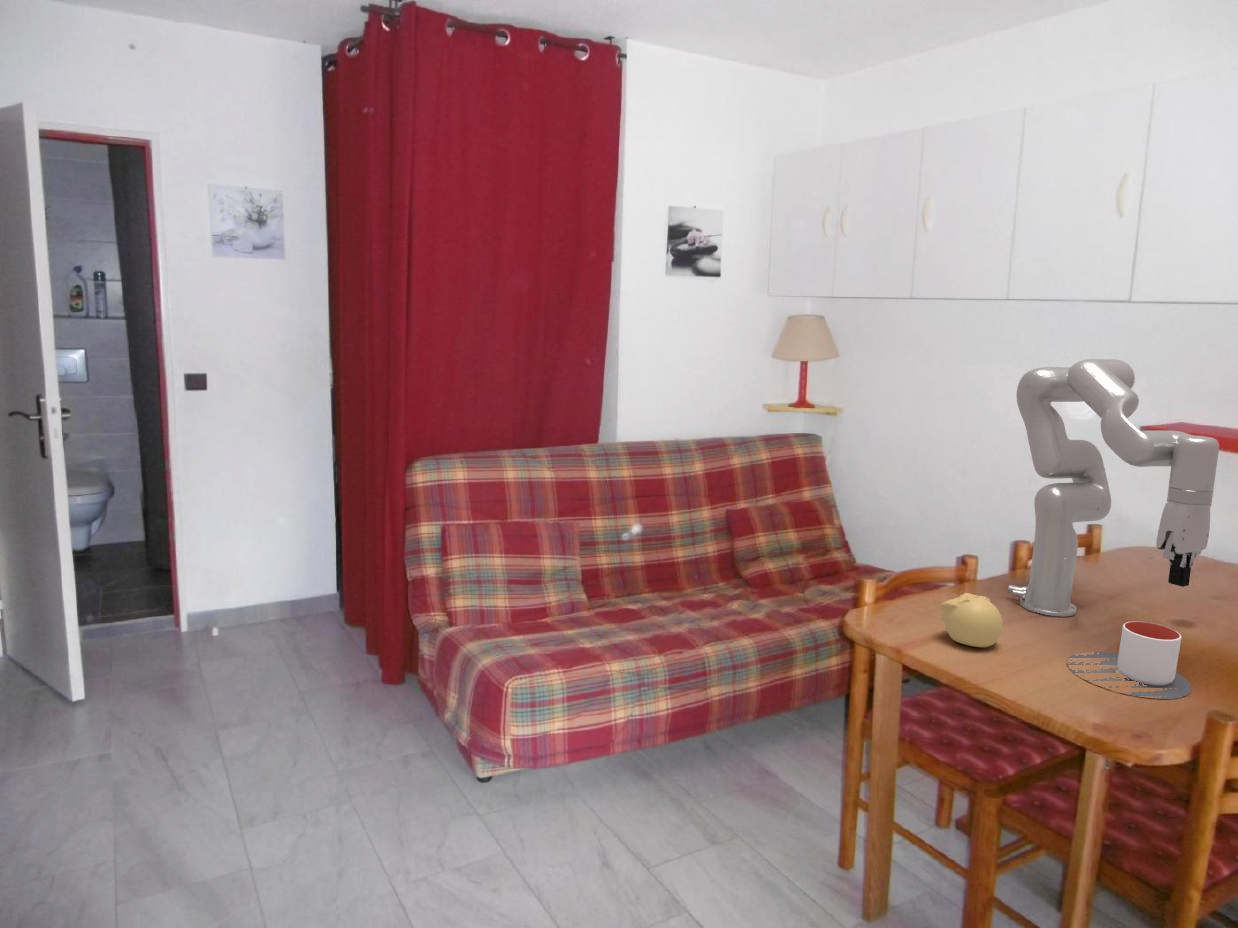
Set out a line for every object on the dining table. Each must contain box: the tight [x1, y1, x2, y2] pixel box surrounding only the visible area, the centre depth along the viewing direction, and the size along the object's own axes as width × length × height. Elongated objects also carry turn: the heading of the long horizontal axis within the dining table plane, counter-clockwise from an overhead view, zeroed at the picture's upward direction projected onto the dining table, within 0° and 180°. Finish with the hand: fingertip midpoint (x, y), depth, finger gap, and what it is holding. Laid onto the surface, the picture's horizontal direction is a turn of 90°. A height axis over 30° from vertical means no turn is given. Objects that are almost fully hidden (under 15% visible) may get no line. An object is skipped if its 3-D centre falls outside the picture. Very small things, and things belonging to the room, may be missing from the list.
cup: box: [1117, 620, 1182, 686], centre depth 170 cm, size 10×10×10 cm
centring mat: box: [1066, 651, 1192, 700], centre depth 172 cm, size 22×22×1 cm
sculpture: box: [940, 592, 1004, 648], centre depth 186 cm, size 12×12×11 cm
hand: (1178, 584), depth 173 cm, fingers closed
